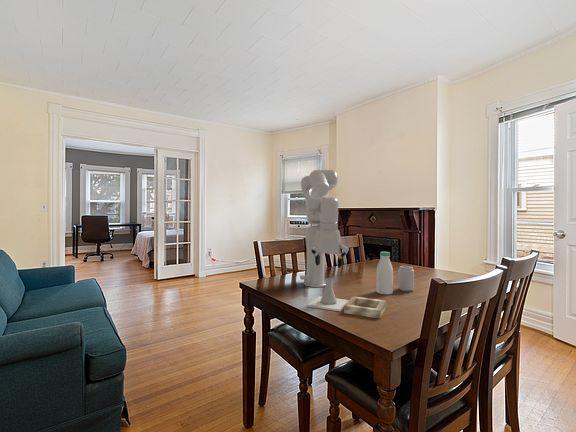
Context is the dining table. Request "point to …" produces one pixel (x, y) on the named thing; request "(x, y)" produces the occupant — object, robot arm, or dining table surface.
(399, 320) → the dining table surface
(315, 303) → the plate
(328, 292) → the flask
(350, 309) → the holder
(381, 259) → the milk bottle
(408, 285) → the can
